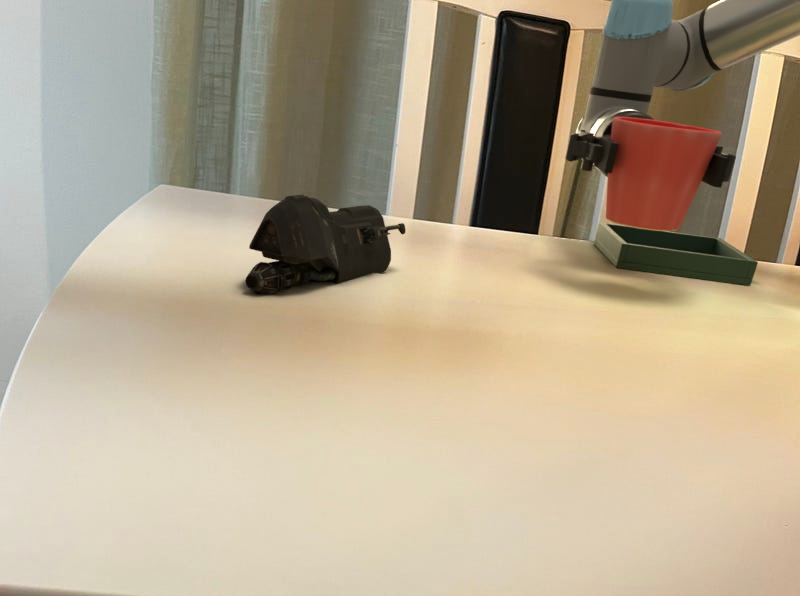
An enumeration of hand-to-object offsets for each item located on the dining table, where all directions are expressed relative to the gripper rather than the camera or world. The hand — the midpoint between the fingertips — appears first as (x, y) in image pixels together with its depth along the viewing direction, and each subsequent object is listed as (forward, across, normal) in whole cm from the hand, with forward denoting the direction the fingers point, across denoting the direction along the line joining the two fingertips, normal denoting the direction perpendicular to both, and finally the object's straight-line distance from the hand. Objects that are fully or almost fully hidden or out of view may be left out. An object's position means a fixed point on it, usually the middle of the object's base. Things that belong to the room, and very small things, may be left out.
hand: (666, 165), depth 101 cm
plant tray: (-26, -10, -13) cm, 31 cm away
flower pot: (-4, 0, -6) cm, 7 cm away
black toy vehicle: (+12, +33, -13) cm, 37 cm away
